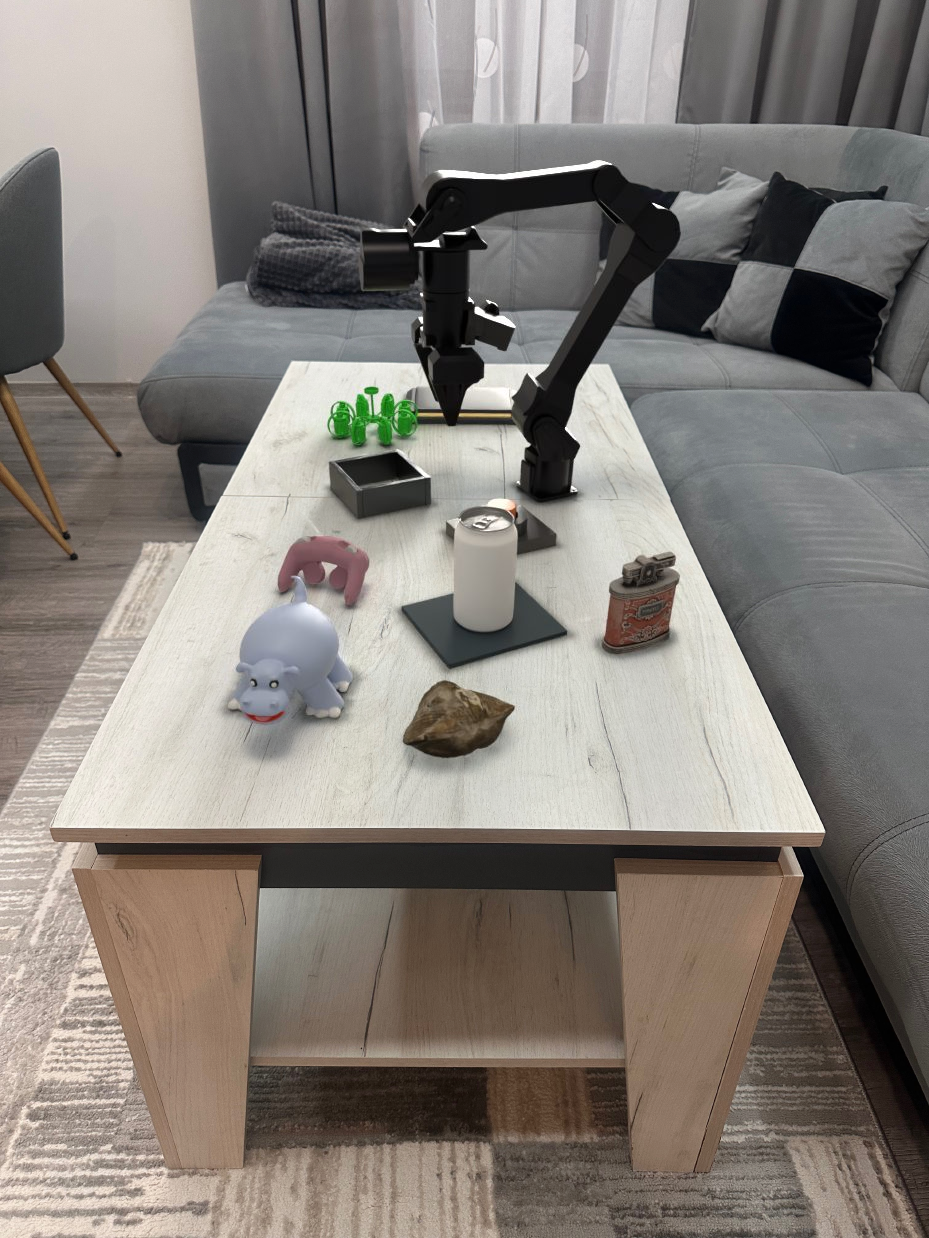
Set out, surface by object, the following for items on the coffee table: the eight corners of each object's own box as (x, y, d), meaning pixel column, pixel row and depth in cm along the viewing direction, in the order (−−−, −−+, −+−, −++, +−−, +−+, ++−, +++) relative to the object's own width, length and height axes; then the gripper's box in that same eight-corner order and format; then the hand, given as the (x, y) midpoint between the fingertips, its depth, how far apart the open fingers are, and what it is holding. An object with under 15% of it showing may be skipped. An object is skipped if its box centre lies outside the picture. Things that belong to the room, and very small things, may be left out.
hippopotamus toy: (205, 749, 78) (189, 662, 72) (256, 651, 90) (245, 571, 85) (325, 759, 77) (317, 672, 71) (360, 659, 89) (355, 578, 84)
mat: (511, 582, 102) (511, 578, 102) (567, 635, 94) (567, 630, 93) (401, 610, 97) (401, 606, 97) (449, 669, 88) (449, 664, 88)
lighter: (614, 659, 90) (625, 574, 85) (595, 641, 93) (605, 559, 87) (676, 639, 93) (691, 557, 88) (656, 623, 96) (669, 542, 90)
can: (524, 613, 96) (530, 514, 89) (492, 641, 91) (496, 539, 85) (474, 595, 99) (477, 498, 92) (441, 621, 94) (441, 521, 88)
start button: (506, 508, 112) (507, 496, 111) (520, 520, 109) (521, 507, 108) (481, 514, 110) (482, 501, 109) (495, 526, 108) (496, 513, 107)
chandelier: (309, 442, 137) (305, 399, 133) (353, 408, 149) (349, 368, 145) (397, 456, 133) (395, 412, 129) (435, 420, 144) (434, 378, 140)
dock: (399, 475, 127) (399, 449, 125) (431, 504, 119) (431, 477, 117) (330, 488, 123) (328, 461, 121) (357, 519, 115) (356, 491, 113)
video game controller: (368, 604, 101) (377, 544, 100) (351, 607, 96) (361, 544, 95) (291, 588, 103) (299, 529, 102) (271, 590, 99) (280, 529, 98)
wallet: (520, 384, 156) (523, 414, 143) (519, 394, 157) (523, 426, 144) (407, 382, 156) (401, 412, 143) (407, 392, 157) (401, 423, 144)
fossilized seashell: (413, 765, 73) (525, 759, 76) (414, 684, 73) (527, 683, 76) (391, 750, 80) (495, 746, 83) (392, 677, 80) (496, 676, 83)
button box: (520, 516, 117) (521, 492, 115) (556, 545, 110) (558, 520, 108) (445, 532, 113) (445, 507, 111) (478, 564, 106) (479, 538, 104)
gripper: (530, 306, 100) (522, 436, 108) (494, 270, 115) (490, 387, 124) (433, 309, 98) (433, 441, 107) (409, 272, 113) (411, 390, 122)
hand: (445, 413), depth 115 cm, fingers open, 9 cm apart
